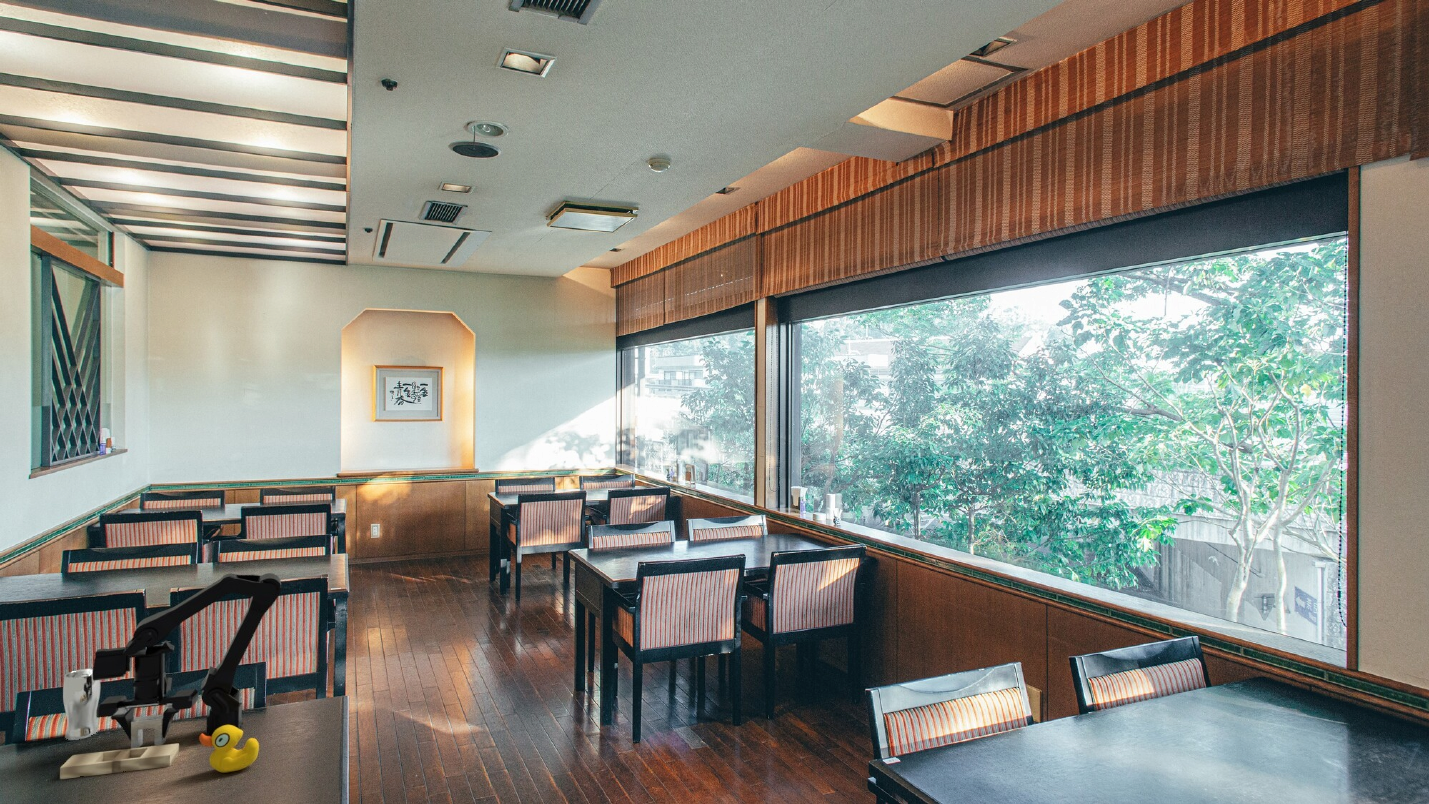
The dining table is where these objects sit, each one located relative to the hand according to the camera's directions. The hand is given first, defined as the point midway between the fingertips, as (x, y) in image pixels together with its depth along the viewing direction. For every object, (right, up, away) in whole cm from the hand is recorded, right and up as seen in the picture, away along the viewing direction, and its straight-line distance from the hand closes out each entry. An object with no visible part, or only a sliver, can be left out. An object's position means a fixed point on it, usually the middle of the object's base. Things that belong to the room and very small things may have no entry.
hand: (148, 738), depth 182 cm
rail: (+1, -2, -10) cm, 10 cm away
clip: (0, -2, 0) cm, 2 cm away
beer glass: (-20, -1, +5) cm, 20 cm away
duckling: (+26, -2, -11) cm, 28 cm away
